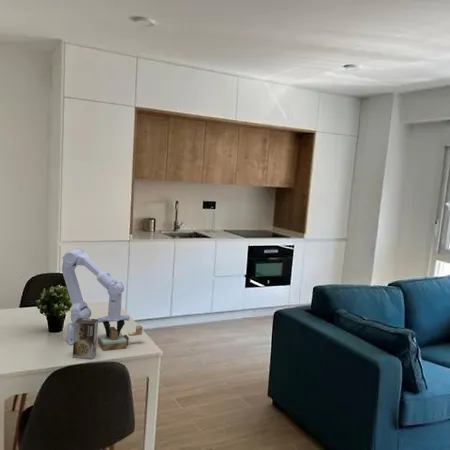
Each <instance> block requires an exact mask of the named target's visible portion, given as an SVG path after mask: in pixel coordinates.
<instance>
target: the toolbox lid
mask: <svg viewBox="0 0 450 450" xmlns="http://www.w3.org/2000/svg"><path fill="white" fill-rule="evenodd" d="M98 338H99V339H100V341H101V342H102V343H103V345H105V344H115V343H124V342H127V340H126V339H125V337H124V334H122V333H121V332H120V334H119V336H118V331H117V327H116V326H110V329H109V337H107V336H106V333H105V334H97V339H98Z"/></svg>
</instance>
